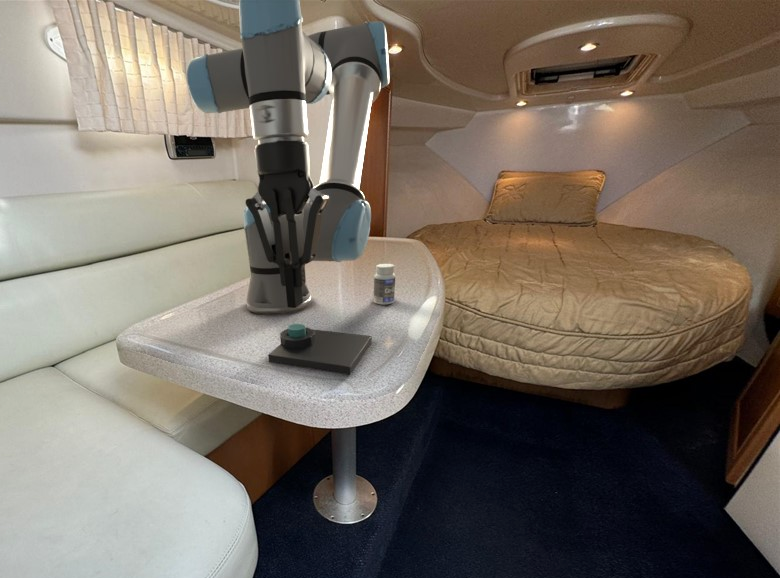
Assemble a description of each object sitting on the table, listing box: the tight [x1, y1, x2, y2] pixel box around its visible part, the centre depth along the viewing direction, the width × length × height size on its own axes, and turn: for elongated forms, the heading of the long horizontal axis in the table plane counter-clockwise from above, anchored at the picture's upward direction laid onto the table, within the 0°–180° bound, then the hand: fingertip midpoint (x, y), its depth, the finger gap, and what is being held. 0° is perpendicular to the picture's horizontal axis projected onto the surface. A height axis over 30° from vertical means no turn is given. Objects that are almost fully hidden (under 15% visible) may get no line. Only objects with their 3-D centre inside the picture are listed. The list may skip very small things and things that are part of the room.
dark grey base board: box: [267, 326, 373, 376], centre depth 61 cm, size 14×12×3 cm
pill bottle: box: [373, 263, 396, 306], centre depth 82 cm, size 5×5×8 cm
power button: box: [287, 323, 306, 338], centre depth 62 cm, size 3×3×2 cm
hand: (295, 304), depth 60 cm, fingers closed
